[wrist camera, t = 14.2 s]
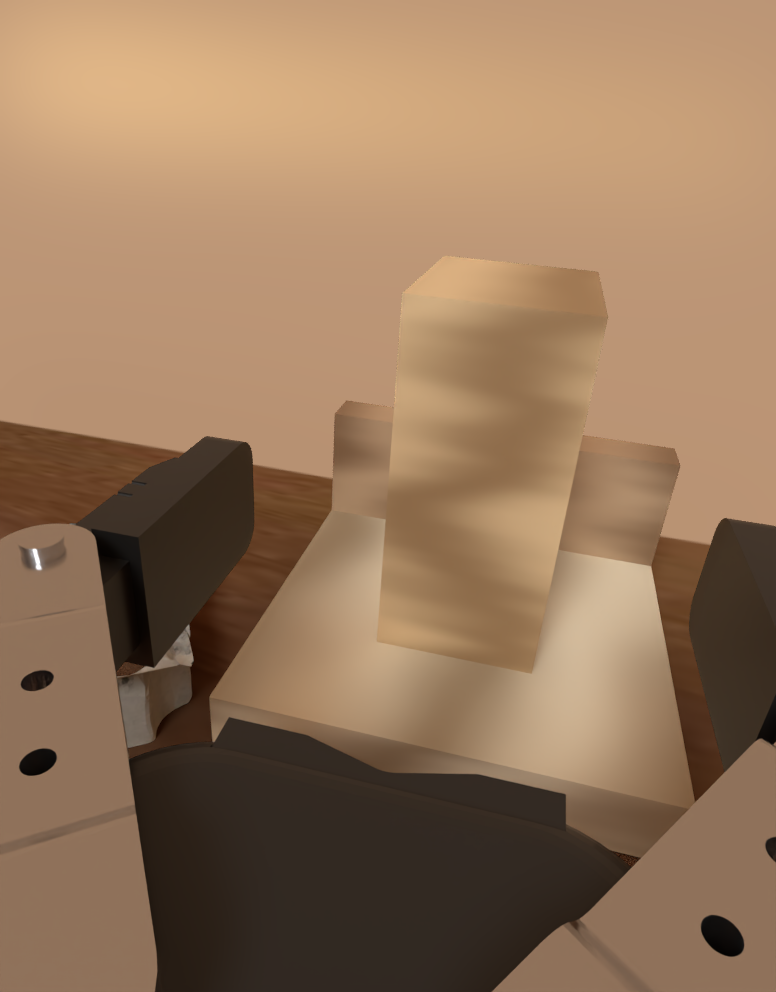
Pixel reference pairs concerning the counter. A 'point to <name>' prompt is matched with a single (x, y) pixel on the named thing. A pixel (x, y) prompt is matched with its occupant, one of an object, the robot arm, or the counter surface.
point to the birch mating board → (479, 687)
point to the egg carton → (156, 691)
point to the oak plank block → (484, 453)
